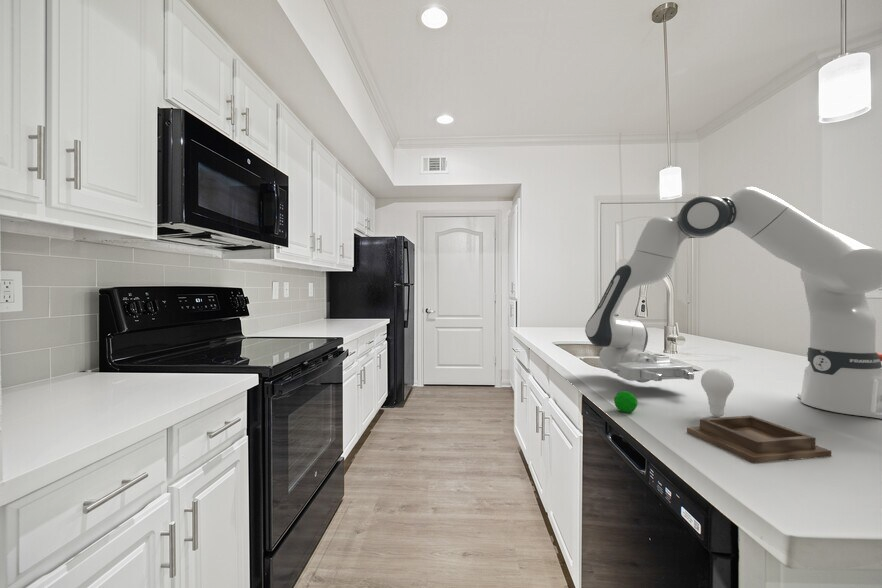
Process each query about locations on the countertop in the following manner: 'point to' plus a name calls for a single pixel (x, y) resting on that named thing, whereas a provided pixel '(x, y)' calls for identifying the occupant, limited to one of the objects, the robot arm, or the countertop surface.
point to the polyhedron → (625, 402)
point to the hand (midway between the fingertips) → (675, 377)
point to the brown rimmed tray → (757, 439)
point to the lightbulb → (717, 389)
